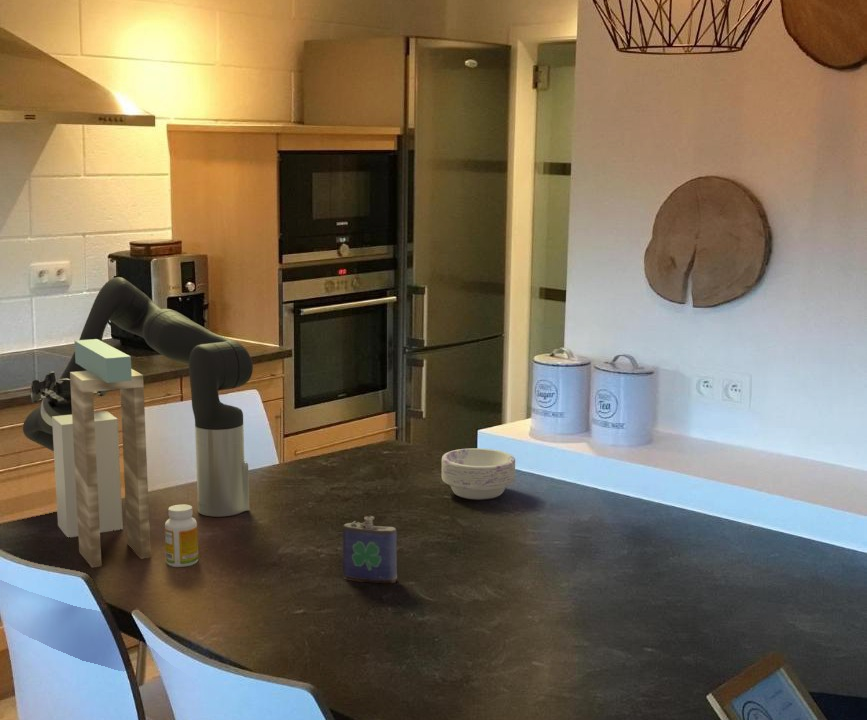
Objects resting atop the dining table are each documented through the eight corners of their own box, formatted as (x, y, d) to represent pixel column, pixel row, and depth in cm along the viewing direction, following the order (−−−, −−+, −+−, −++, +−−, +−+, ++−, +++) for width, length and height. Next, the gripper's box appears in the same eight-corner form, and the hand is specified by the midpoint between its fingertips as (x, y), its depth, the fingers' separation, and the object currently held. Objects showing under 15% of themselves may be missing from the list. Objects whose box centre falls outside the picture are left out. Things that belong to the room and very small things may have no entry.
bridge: (136, 542, 203) (128, 367, 197) (150, 557, 195) (143, 375, 190) (79, 552, 198) (69, 372, 192) (91, 567, 190) (82, 380, 185)
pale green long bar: (98, 360, 204) (97, 339, 203) (131, 380, 185) (130, 356, 184) (75, 362, 202) (74, 340, 201) (107, 382, 183) (106, 358, 182)
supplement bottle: (202, 557, 195) (200, 503, 194) (193, 568, 190) (191, 512, 188) (172, 556, 196) (170, 502, 194) (161, 567, 190) (159, 511, 189)
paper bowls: (517, 504, 226) (517, 466, 225) (441, 504, 227) (441, 465, 225) (512, 483, 241) (513, 447, 240) (441, 483, 242) (441, 447, 240)
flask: (398, 579, 185) (398, 516, 183) (393, 585, 182) (392, 521, 181) (345, 573, 188) (344, 511, 186) (339, 579, 185) (338, 516, 183)
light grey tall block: (111, 517, 217) (106, 410, 214) (122, 529, 210) (117, 418, 207) (58, 525, 212) (51, 416, 209) (67, 537, 205) (61, 424, 202)
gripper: (22, 389, 221) (34, 358, 208) (95, 382, 228) (111, 352, 215) (27, 425, 219) (40, 397, 206) (102, 417, 226) (118, 389, 213)
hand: (76, 374), depth 211 cm, fingers open, 8 cm apart
